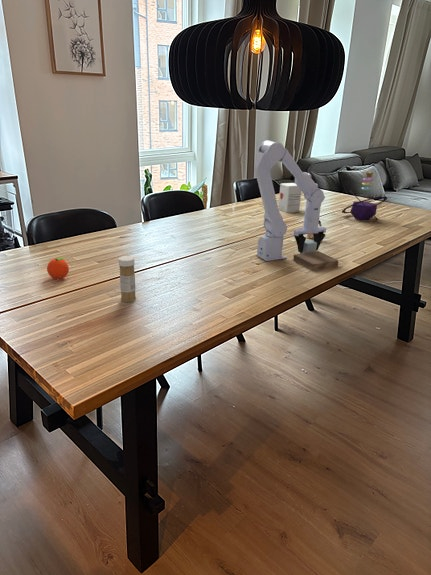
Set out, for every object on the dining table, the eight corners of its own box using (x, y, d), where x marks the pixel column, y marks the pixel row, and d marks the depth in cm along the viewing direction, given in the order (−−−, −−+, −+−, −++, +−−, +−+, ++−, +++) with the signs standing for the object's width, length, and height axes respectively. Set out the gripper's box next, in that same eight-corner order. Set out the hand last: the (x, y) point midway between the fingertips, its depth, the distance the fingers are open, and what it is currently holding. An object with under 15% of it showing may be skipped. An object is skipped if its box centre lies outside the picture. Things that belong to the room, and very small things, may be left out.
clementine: (64, 272, 155) (62, 253, 152) (76, 277, 151) (74, 257, 148) (44, 278, 149) (41, 258, 147) (55, 283, 145) (53, 263, 143)
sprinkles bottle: (130, 295, 139) (128, 254, 133) (139, 299, 136) (137, 258, 131) (117, 299, 136) (115, 257, 130) (126, 304, 133) (124, 261, 128)
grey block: (306, 257, 178) (307, 243, 176) (299, 253, 182) (301, 240, 180) (315, 255, 180) (317, 242, 178) (308, 252, 184) (310, 239, 182)
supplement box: (277, 209, 256) (279, 183, 250) (290, 208, 260) (293, 182, 254) (286, 213, 249) (288, 186, 243) (299, 211, 252) (302, 185, 246)
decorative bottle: (388, 225, 229) (397, 176, 220) (347, 224, 229) (354, 174, 220) (374, 215, 250) (382, 169, 240) (337, 213, 250) (343, 168, 240)
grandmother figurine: (306, 239, 201) (309, 211, 196) (302, 237, 205) (305, 209, 200) (321, 238, 203) (325, 211, 198) (317, 236, 207) (320, 209, 202)
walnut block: (312, 272, 164) (313, 264, 163) (293, 261, 174) (293, 254, 173) (337, 267, 169) (338, 260, 168) (317, 258, 179) (318, 251, 178)
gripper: (302, 222, 169) (299, 256, 174) (332, 219, 175) (328, 251, 180) (292, 217, 175) (288, 250, 180) (321, 215, 181) (317, 246, 186)
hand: (307, 251), depth 181 cm, fingers open, 7 cm apart
